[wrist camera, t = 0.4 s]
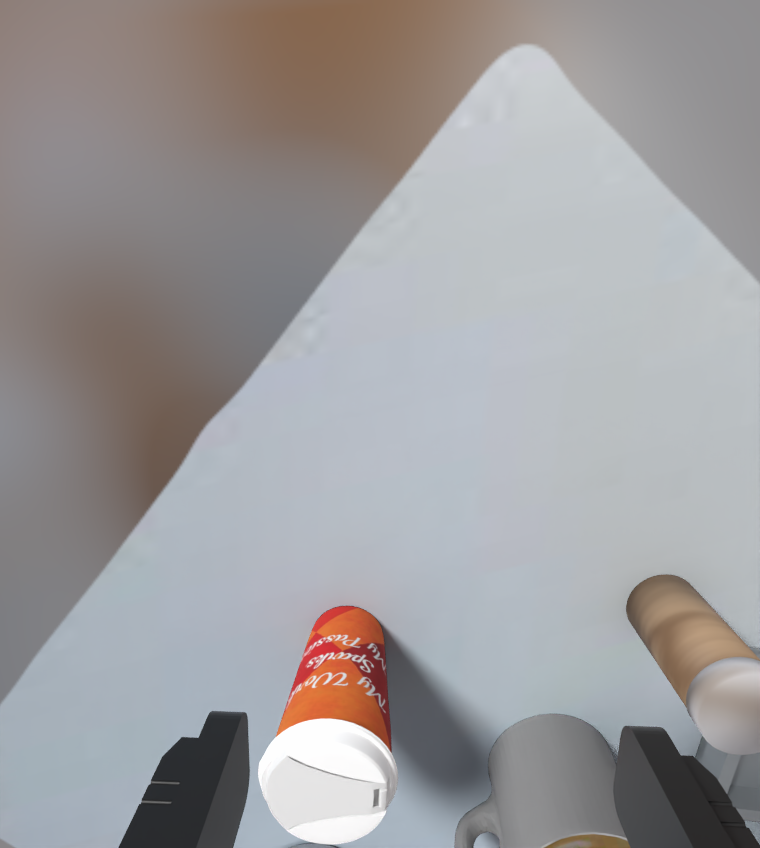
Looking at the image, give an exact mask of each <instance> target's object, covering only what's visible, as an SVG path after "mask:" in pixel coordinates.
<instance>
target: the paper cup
mask: <svg viewBox="0 0 760 848" xmlns="http://www.w3.org/2000/svg"><path fill="white" fill-rule="evenodd" d="M258 775H259V782H260V785H261V789H262V793H263V796H264V798H265V800H266V801H267V803H268V806H269V809H270V811H271V812H272V814H273V816H274V817H275V818H276V819H277V821H278V822H279V823H280V824H281V825H282V826H283V827H284V828H285V829H286V830H287V831H288V832H289V833H291V834H293V835H294V836H296V837H298V838H301V839H303V840H306V841H309V842H313V843H318V844H342V843H347V842H351V841H354V840H356V839H359V838H361V837H363V836H365V835H366V834H368V833H369V832H371V831H372V830H373V829H374V828H375V827H376V826H377V825H378V824H379V823H380V822H381V820H382V819H383V817H384V815H385V814H386V810H387V807H388V806H389V804H390V803H391V801H392V799H393V798H394V795H395V792H396V789H397V783H398V770H397V766H396V762H395V760H394V757H393V755H392V749H391V727H390V715H389V703H388V689H387V672H386V657H385V645H384V636H383V632H382V628H381V626H380V624H379V622H378V621H377V620H376V618H375V617H374V616H373V615H372V614H370V613H369V612H367V611H366V610H363V609H361V608H358V607H354V606H339V607H335V608H332V609H330V610H328V611H326V612H325V613H323V614H322V615H321V616H320V617H319V618H318V620H317V621H316V623H315V625H314V627H313V629H312V632H311V634H310V637H309V640H308V642H307V645H306V648H305V651H304V654H303V657H302V660H301V663H300V666H299V669H298V672H297V675H296V678H295V681H294V684H293V687H292V690H291V693H290V696H289V699H288V702H287V705H286V708H285V711H284V714H283V717H282V720H281V723H280V726H279V729H278V732H277V735H276V738H275V739H274V740H273V741H272V742H271V744H270V745H269V746H268V748H267V750H266V752H265V754H264V756H263V757H262V759H261V761H260V763H259V770H258Z"/></svg>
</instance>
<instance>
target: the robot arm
mask: <svg viewBox="0 0 760 848" xmlns="http://www.w3.org/2000/svg"><path fill="white" fill-rule="evenodd" d="M249 773H250V769H249V742H248V719H247V714H246V713H245V712H222V711H211V712H210V713H209V715H208V717H207V719H206V722H205V724H204V726H203V729H202V731H201V734H200V736H199V738H188V737H182V738H181V739H180V740H179V741H178V742H177V743H176V744H175V745H174V746H173V747H172V748H171V749H170V750H169V751H168V752H167V753H166V754H165V755H164V756H163V757H162V759H161V761H160V763H159V765H158V767H157V769H156V771H155V773H154V775H153V777H152V779H151V784H150V785H149V786H148V788H147V790H146V792H145V794H144V796H143V798H142V802H141V804H139V806H138V808H137V810H136V813H135V815H134V817H133V819H132V821H131V823H130V825H129V827H128V829H127V831H126V833H125V835H124V837H123V839H122V842H121V844H120V846H119V848H233V846H234V843H235V839H236V835H237V832H238V828H239V825H240V821H241V818H242V814H243V811H244V807H245V803H246V799H247V793H248V786H249ZM613 793H614V802H615V808H616V812H617V815H618V818H619V821H620V824H621V826H622V828H623V831H624V833H625V836H626V838H627V841H628V843H629V845H630V848H760V845H759V843H758V842H757V840H756V839H755V837H754V836H753V834H752V832H751V831H750V829H749V828H746V826H745V822H744V820H743V818H742V817H741V815H740V814H739V812H738V811H737V809H736V807H733V805H732V801H731V800H730V798H729V797H728V795H727V793H726V792H725V790H724V789H723V787H722V786H721V784H720V782H719V781H718V779H717V778H716V777H715V776H714V775H713V774H712V773H711V772H710V771H709V770H707V769H706V768H705V767H704V766H703V765H702V764H701V763H700V762H699V761H698V760H696V759H695V758H694V757H693V756H681V755H680V754H679V752H678V750H677V749H676V747H675V745H674V744H673V742H672V740H671V739H670V737H669V735H668V734H667V732H666V731H665V730H664V729H663V728H661V727H641V726H625V727H624V728H623V729H622V732H621V738H620V744H619V751H618V758H617V764H616V771H615V777H614V785H613ZM290 848H335V847H333V846H329V845H324V844H312V843H309V844H301V845H296V846H293V847H290Z"/></svg>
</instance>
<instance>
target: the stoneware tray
mask: <svg viewBox="0 0 760 848" xmlns="http://www.w3.org/2000/svg"><path fill="white" fill-rule="evenodd" d="M749 648H750V649H751V650H752V651H753V652H754V654H755V655H756V656H757V657H758V658H759V659H760V648H752V647H749ZM695 759H696V760H698V761H699V762H700V763H701V764H702V765H703V766H704V767H705V768H706V769H707V770H709V771H710V772H711V773H712V774H713V775H714V776H715V777H716V778H717V779H718V781H719V782H720V784H721V786H722V787H723V789H724V790H725V792H726V793H727V795H728V797H729V798H730V800H731V801H732V805H733V807H736V809H737V811H738V812H739V814H740V815H741V817H742V818H743V820H747V821H755V822H760V752H758V753H754V754H748V755H735V754H729V753H726V752H722V751H720V750H718V749H716V748H715V747H713V746H712V745H710V744H709V743H708V742H707V741H706V740H705V738H704V737H703V735H702V739H701V742H700V745H699V748H698V751H697V754H696V757H695Z"/></svg>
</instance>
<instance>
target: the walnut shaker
mask: <svg viewBox="0 0 760 848" xmlns="http://www.w3.org/2000/svg"><path fill="white" fill-rule="evenodd" d="M626 612H627V616H628V619H629V621H630V623H631V624H632V626H633V627H634V629H635V630H636V632H637V633H638V635H639V636H640V638H641V639H642V641H643V642H644V644H645V645H646V647H647V649H648V650H649V652H650V653H651V655H652V656H653V658H654V659H655V661H656V662H657V664H658V665H659V667H660V668H661V670H662V671H663V673H664V674H665V676H666V677H667V679H668V680H669V682H670V683H671V685H672V686H673V688H674V689H675V691H676V692H677V694H678V696H679V697H680V699H681V700H682V702H683V703H684V705H685V706H686V708H687V711H688V713H689V715H690V717H691V718H692V720H693V721H694V723H695V724H696V726H697V727H698V729H699V731H700V732H701V734H702V735H703V737H704V738H705V740H706V741H707V742H708V743H709V744H710V745H712V746H713V747H715V748H716V749H718V750H720V751H722V752H726V753H729V754H735V755H748V754H754V753H758V752H760V659H759V658H758V657H757V656H756V655H755V654H754V652H753V651H752V650H751V649H750V648H749V647H748V646H747V645H746V644H745V643H744V642H743V641H742V640H741V638H740V637H739V636H738V635H737V634H736V633H735V632H734V631H733V630H732V629H731V628H730V627H729V626H728V624H727V623H726V622H725V621H724V620H723V619H722V618H721V617H720V616H719V615H718V614H717V613H716V612H715V610H714V609H713V608H712V607H711V606H710V605H709V604H708V603H707V602H706V601H705V600H704V599H703V598H702V596H701V595H700V594H699V593H698V592H697V591H696V590H695V589H694V588H693V587H692V586H691V585H690V584H689V583H688V582H687V581H686V580H684V579H682V578H680V577H677V576H674V575H657V576H653V577H650V578H648V579H646V580H644V581H643V582H641V583H640V584H639V585H637V586H636V587H635V588H634V590H633V591H632V592H631V594H630V596H629V598H628V601H627V605H626Z"/></svg>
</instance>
